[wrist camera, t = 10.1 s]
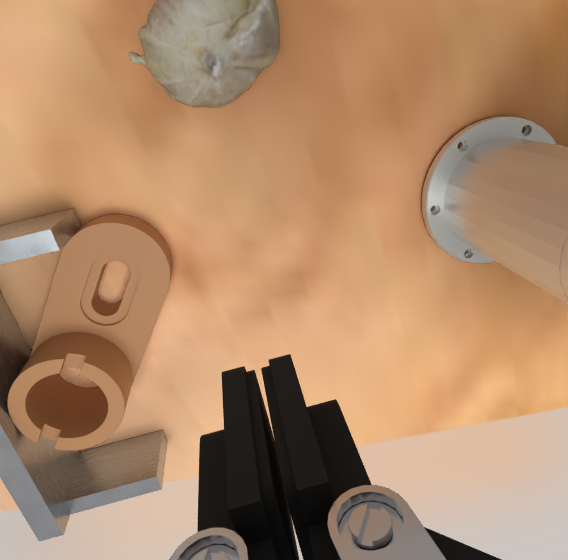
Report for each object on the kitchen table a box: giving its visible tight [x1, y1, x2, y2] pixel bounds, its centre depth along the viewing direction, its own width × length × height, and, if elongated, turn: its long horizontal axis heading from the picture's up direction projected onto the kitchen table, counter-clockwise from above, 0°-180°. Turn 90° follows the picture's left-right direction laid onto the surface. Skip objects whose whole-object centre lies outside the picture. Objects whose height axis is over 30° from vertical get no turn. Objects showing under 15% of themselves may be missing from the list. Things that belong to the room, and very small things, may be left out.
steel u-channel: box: [0, 208, 167, 541], centre depth 38 cm, size 16×24×8 cm, turn 11°
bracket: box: [8, 214, 172, 450], centre depth 38 cm, size 18×8×7 cm, turn 155°
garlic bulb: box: [128, 0, 280, 108], centre depth 30 cm, size 9×8×10 cm
